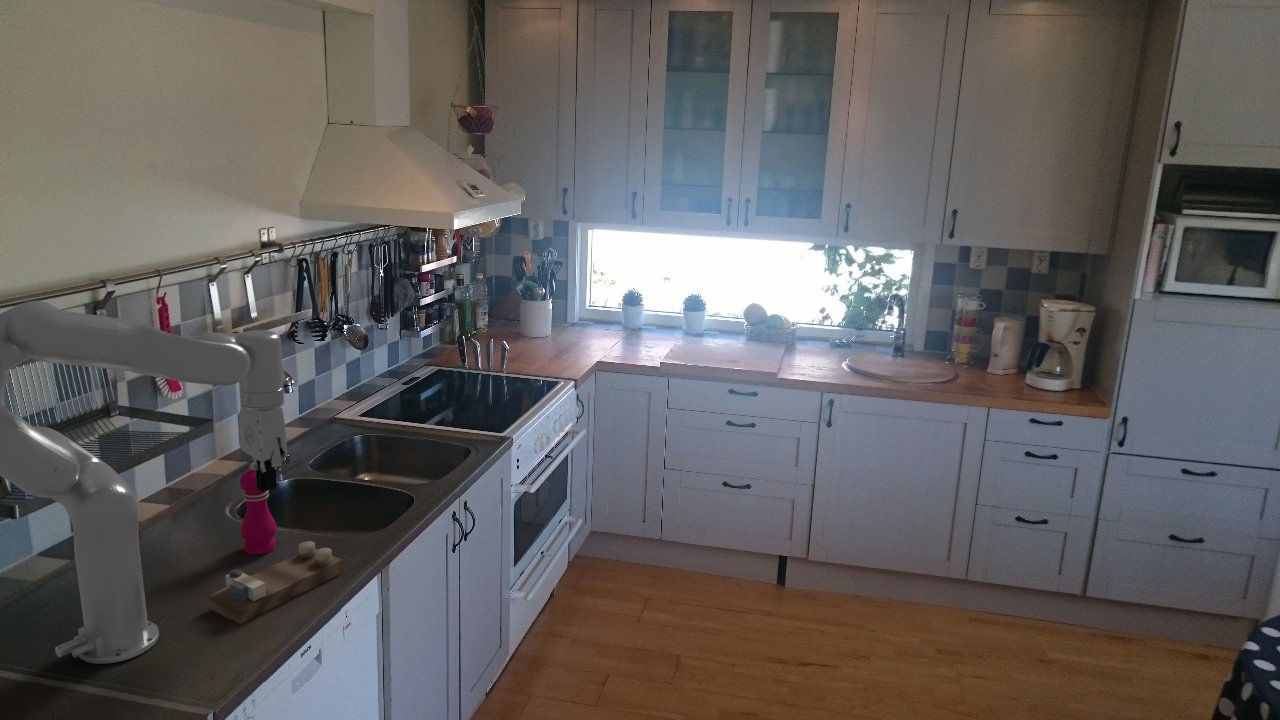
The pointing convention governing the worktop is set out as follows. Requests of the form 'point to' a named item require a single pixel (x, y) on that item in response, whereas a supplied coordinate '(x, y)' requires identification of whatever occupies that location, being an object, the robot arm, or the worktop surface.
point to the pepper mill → (256, 517)
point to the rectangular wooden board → (279, 583)
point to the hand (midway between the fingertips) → (266, 488)
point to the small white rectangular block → (246, 584)
